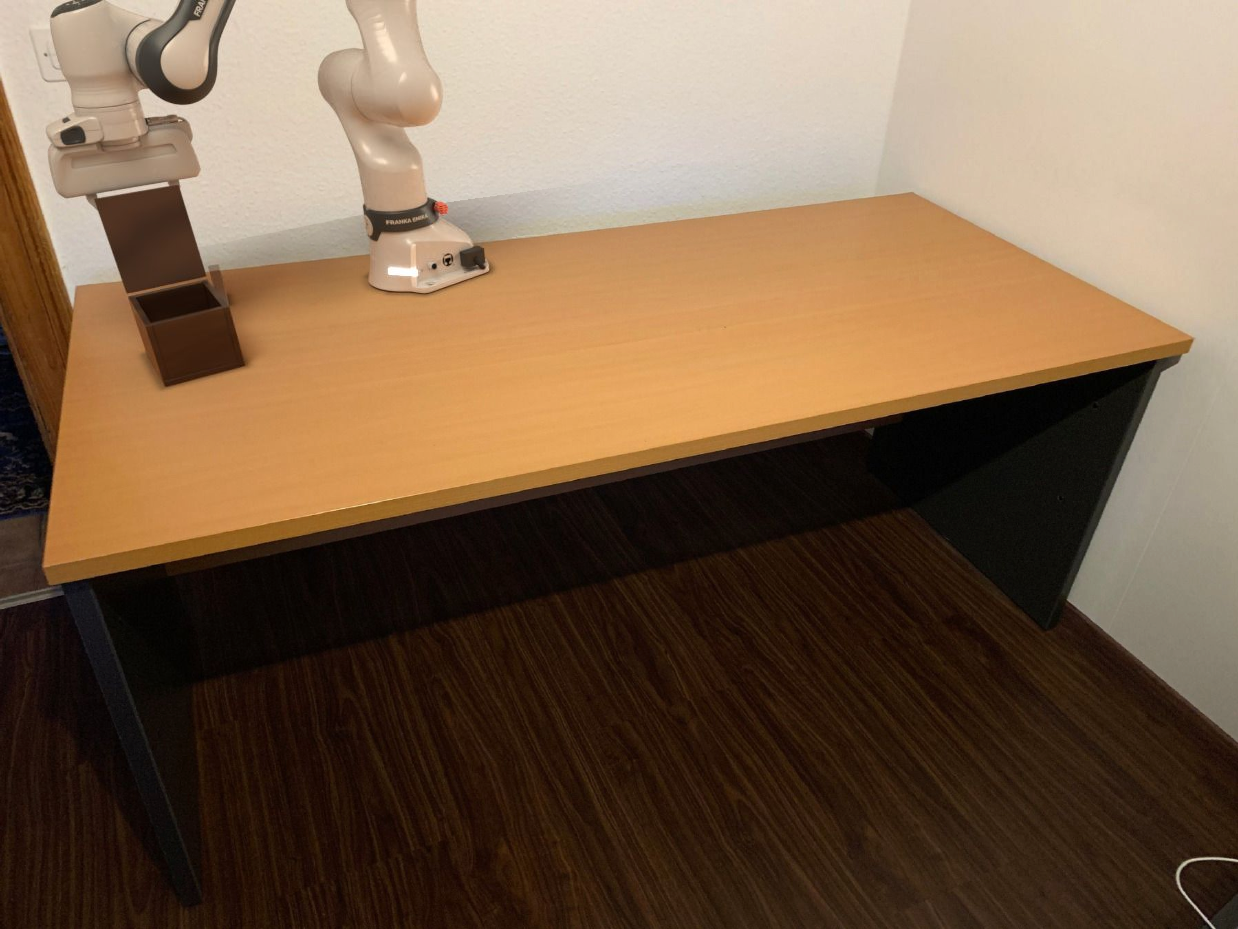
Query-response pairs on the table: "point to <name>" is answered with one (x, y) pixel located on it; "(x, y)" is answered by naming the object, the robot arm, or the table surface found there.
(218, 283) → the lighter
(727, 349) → the table surface
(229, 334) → the chest
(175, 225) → the lid
